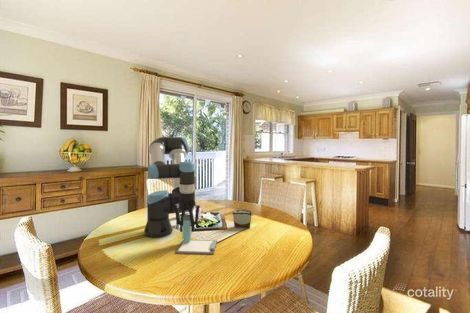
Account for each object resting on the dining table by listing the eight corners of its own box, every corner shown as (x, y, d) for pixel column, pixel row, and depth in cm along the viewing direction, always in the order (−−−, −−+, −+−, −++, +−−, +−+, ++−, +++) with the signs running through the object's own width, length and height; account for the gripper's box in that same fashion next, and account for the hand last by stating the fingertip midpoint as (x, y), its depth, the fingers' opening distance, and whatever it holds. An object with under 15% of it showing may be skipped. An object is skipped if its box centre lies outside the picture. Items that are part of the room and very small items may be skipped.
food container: (252, 225, 149) (252, 209, 149) (252, 228, 143) (252, 212, 143) (233, 224, 150) (233, 208, 150) (231, 227, 144) (232, 211, 144)
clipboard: (175, 253, 111) (175, 250, 111) (183, 240, 125) (183, 237, 125) (213, 254, 110) (213, 251, 110) (217, 241, 124) (217, 238, 124)
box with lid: (183, 241, 120) (183, 216, 119) (185, 239, 123) (184, 214, 123) (189, 242, 120) (189, 216, 119) (191, 239, 123) (191, 214, 122)
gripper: (168, 193, 117) (169, 240, 118) (201, 194, 116) (201, 241, 117) (173, 190, 124) (174, 234, 126) (204, 190, 123) (204, 235, 125)
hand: (187, 237), depth 122 cm, fingers closed on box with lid, 3 cm apart
